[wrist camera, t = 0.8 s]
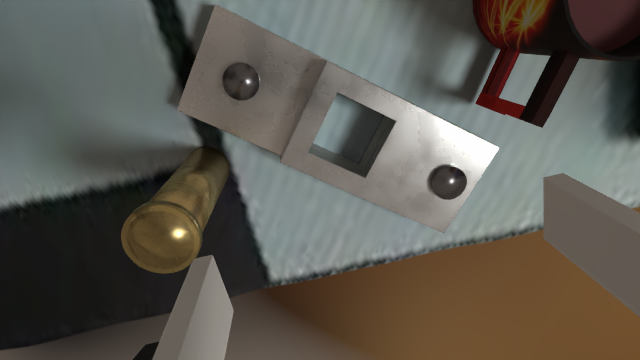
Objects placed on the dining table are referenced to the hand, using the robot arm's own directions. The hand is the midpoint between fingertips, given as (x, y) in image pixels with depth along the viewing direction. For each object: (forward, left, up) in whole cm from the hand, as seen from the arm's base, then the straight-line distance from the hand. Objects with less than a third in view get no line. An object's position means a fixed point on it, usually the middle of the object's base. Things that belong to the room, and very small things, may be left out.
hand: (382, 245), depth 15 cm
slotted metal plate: (+1, 0, -22) cm, 22 cm away
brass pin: (-9, -9, -22) cm, 25 cm away
